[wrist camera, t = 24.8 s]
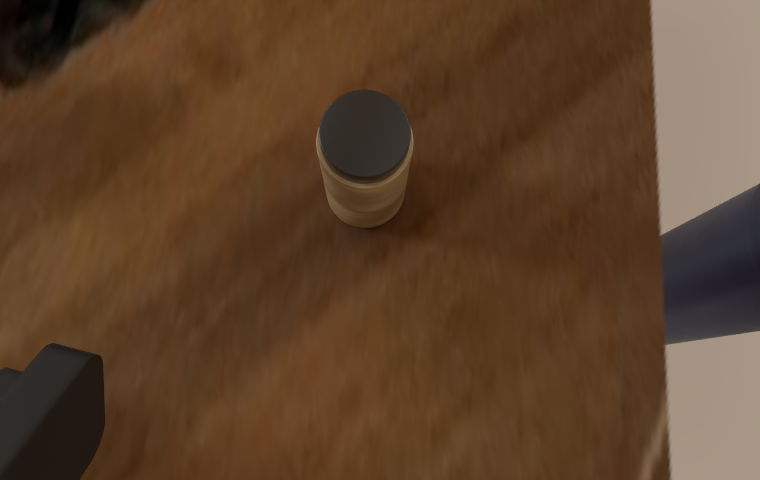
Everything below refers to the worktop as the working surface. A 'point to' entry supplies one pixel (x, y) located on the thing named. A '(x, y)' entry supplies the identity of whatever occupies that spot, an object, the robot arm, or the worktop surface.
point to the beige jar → (365, 157)
